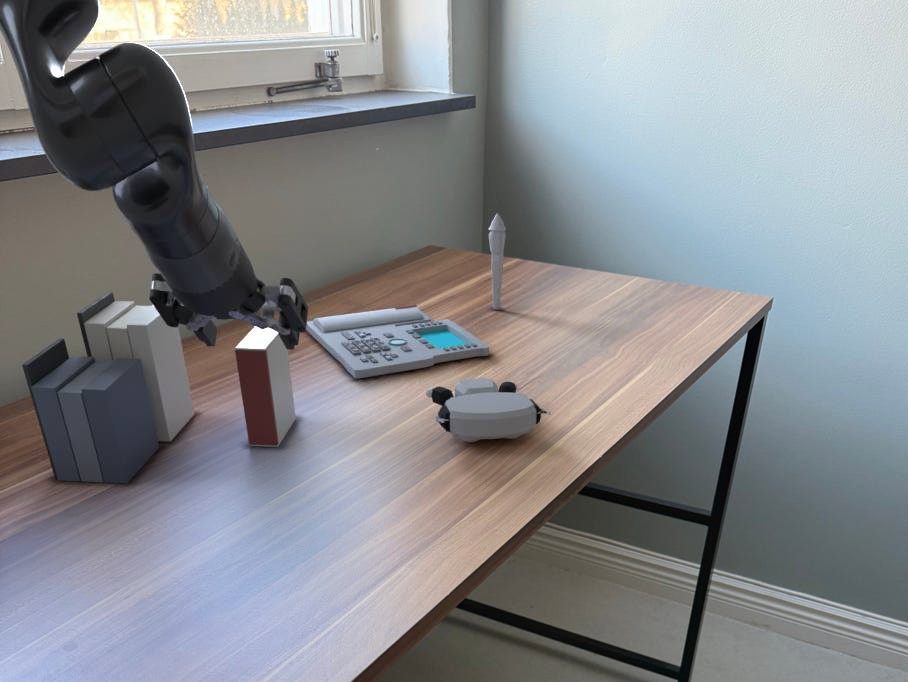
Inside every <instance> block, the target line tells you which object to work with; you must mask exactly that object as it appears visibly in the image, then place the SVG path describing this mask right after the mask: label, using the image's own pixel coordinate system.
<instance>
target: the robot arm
mask: <svg viewBox="0 0 908 682" xmlns="http://www.w3.org/2000/svg"><path fill="white" fill-rule="evenodd" d="M100 12H101V4H100V0H0V33H1V35H2V37H3V39H4V41H5V43H6V46H7V48H8V50H9V52H10V55H11V58H12V60H13V63H14V66H15V68H16V72H17V75H18V77H19V80H20V83H21V86H22V90H23V93H24V97H25V101H26V104H27V107H28V111H29V114H30V117H31V120H32V124H33V128H34V130H35V133H36V137H37V139H38V142H39V144H40V146H41V148H42V150H43V152H44V154H45V156H46V158H47V159H48V161H49V163H50V165H51V166H52V167H53V168H54V169H55V170H56V171H57V173H58V174H59V176H61V177H62V178H63V179H65V180H66V181H67V182H68V183H70V184H72V185H73V186H75V187H76V188H78V189H81V190H83V191H86V192H91V193H99V192H100V193H101V192H103V191H105V190H108V189H110V188H111V194H112V200H113V202H114V204H115V206H116V208H117V210H118V212H119V213H120V215H121V216H122V218H123V219H124V221H125V222H126V224H127V225H128V226H129V227H130V229H131V230H132V232H133V233H134V234H135V236H136V237H137V238H138V240H139V241H140V243H141V245H142V246H143V248H144V251H145V252H146V255H147V256H148V258H149V260H150V262H151V263H152V264H153V266H154V267H155V269H156V270H157V271H158V272H155V273H152V276H151V282H150V288H149V289H150V290H149V297H148V299H149V301H150V303H151V304H152V305H154V307H155V308H156V310H157V311H158V313H159V314H160V316H161V317H162V319H163V320H164V321H165V323H166V324H167V325H168V326H170V327H178V328H179V326H180V325H183V326H185V329H186V330H188V331H191V332H193V333H194V335H195V336H196V337H197V339H198V340H199V341H200V342H204V344H205V345H206V347H213V348H214V347H216V344H217V343H216V342H217V334H218V330H217V326H216V324H214V321H213V319H214V318H215V319H216V320H224V321H225V320H237V321H245V322H246V323H248V324H250V325H253V326H254V327H255V326H256V327H258V328H260V329H266V328H270V329H272V330H274V331H276V332H278V335H279V336H280V338H281V340H282V342H283V343H284V345H285V347H286V349H288V351H294V350H295V348H296V347H295V346H299V341H300V333H305V332H307V330H306V325H307V322H308V315H309V306H308V304H307V303H306V301H305V299H304V297H303V296H302V294H301V292H300V291H299V288H298V287H297V285H296V284H295V282H294V280H293V279H291V278H289V277H282V278H280V281H279V285H266V284H265V283H264V282H263V281H262V280H261V279H259V278H258V277H257V276H256V274H255V271H254V268H253V264H252V262H251V260H250V257H249V256H248V254H247V252H246V251H245V249H244V246H243V245H242V243H241V241H240V239H239V237H238V236H237V234H236V232H235V229H234V228H233V226H232V224H231V222H230V220H229V218H228V217H227V215H226V214H225V212H224V211H223V209H222V208H221V207H220V206H219V205H218V204H217V203H216V201H215V198H214V197H213V195H212V194H211V191H210V189H209V188H208V186H207V184H206V183H205V180H204V179H203V177H202V175H201V173H200V169H199V166H198V162H197V156H196V148H195V147H196V146H195V137H194V129H193V122H192V117H191V113H190V107H189V103H188V100H187V97H186V93H185V91H184V89H183V86H182V84H181V82H180V80H179V78H178V76H177V75H176V72H175V71H174V70H173V68H172V67H171V66H170V64H169V62H167V60H166V59H165V58H164V57H162V55H160V54H159V53H158V52H157V51H155V50H154V49H152V48H150V47H148V46H147V45H144V44H143V43H139V42H133V41H130V42H129V41H127V42H123V43H120V44H116V45H115V46H113V47H111V48H109V49H107V50H105V51H103V52H101V53H99V55H98V56H94V57H93V58H91V59H89V60H87V61H86V62H84V63H82V64H80V65H79V66H77V67H75V68H73V69H71V70H70V71H68V72H66V73H65V65H66V63H67V61H68V59H69V57H70V56H71V55H72V53H73V52H74V51H75V50H76V49H77V48H78V47H79V46H80V45H81V44H82V43H83V41H85V40H86V39H87V37H88V36H89V35H90V34H91V33H92V31H93V30H94V28H95V27H96V25H97V23H98V21H99V18H100ZM259 311H260V315H259V314H257V313H258V312H259ZM275 313H276V314H278V316H279V317H278V318H279V319H278V320H277V319H276V318H275Z"/></svg>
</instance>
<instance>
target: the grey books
mask: <svg viewBox="0 0 908 682" xmlns="http://www.w3.org/2000/svg"><path fill="white" fill-rule="evenodd" d="M21 366H22V370H23V373H24V377H25V381H26V383H27V387H28V390H29V393H30V398H31V401H32V404H33V407H34V411H35V414H36V418H37V421H38V424H39V429H40V432H41V435H42V438H43V442H44V445H45V448H46V452H47V456H48V458H49V463H50V466H51V470H52V472H53V473H52V474H53V476H54V478H55V479H57V480H58V481H64V482H65V481H66V482H85V483H106V484H107V483H108V484H109V483H110V484H128V483H129V482H130V481H131V480H132V479H133V477H135V475H136V474H137V473H138V472H139V471H140V470H141V468H142V467H143V466H144V465H145V464H146V463H147V462H148V461H149V460H150V458H151V457H152V456H153V455H154V454H155V453H156V452H157V450H159V449H160V445H159V441H158V439H157V434H156V430H155V425H154V420H153V416H152V411H151V406H150V402H149V397H148V392H147V388H146V383H145V378H144V374H143V369H142V364H141V360H140V359H133V358H118V359H117V360H116V361H95V358H94V357H87V355H86V356H85V355H83V356H82V355H81V356H80V355H72V356H71V357H70V355H69V351H68V348H67V344H66V340H65V338H63V337H62V338H61V337H60V338H58V339H56V340H55V341H54V342H53V343H51V344H49V345H48V346H47V347H45V348H43V349H42V350H41V351H40V352H38V353H37V354H35V355H34V356H32V357H31V358H30V359H28V360H27V361H25V362H24V363H23V364H22V365H21Z"/></svg>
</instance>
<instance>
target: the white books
mask: <svg viewBox="0 0 908 682" xmlns="http://www.w3.org/2000/svg"><path fill="white" fill-rule="evenodd" d="M76 316H77V320H78V324H79V328H80V331H81V332H80V333H81V336H82V340H83V345H84V348H85V352H86V357H94V358H95V361H116V360H117V359H118V358H133V359H140V360H141V364H142V369H143V374H144V378H145V383H146V388H147V392H148V397H149V402H150V406H151V411H152V416H153V420H154V425H155V430H156V434H157V439H158V442H164V443H165V442H166V443H167V442H168V443H170V442H172V441H173V439H174V438H175V437H177V435H178V434H180V432H181V431H182V429H183V428H184V427H185V426H186V425H187V424H188V423H189V421H190V420H191V419H192V418H193V417H194V416H195V410H194V404H193V399H192V394H191V388H190V383H189V377H188V372H187V366H186V361H185V354H184V350H183V344H182V340H181V334H180V330H179V329H180V328H179V326H178V327H170V326H168V325H167V324H166V323H165V321H164V320H163V319H162V317H161V316H160V314H159V313H158V311H157V310H156V308H155V307H154V305H153V304H152V305H135V301H126V300H125V301H123V300H115V296H114V291H108V292H106V293H105V294H103V295H101V296H99V298H97V299H95V300H94V301H92V302H91V303H90V304H88V305H86V306H85V307H84V308H82V309H80V310H79V311H77V312H76Z"/></svg>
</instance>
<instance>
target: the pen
mask: <svg viewBox="0 0 908 682" xmlns="http://www.w3.org/2000/svg"><path fill="white" fill-rule="evenodd" d="M487 230H488V231H489V233H488V242H489V243H488V244H489V250H490V253H491V254H490V257H491V262H490V263H491V265H490V267H491V268H490V269H491V289H492V290H491V291H492V293H491V294H492V307H493V308H492V309H493V310H498V311H499V310H500V307H501V297H502V285H503V275H504V251H505V244H506V230H507V227H506V225H505V222H504V221H503V218H502V217H501V216H500V214H499V213H498V212H497V213H496V214H495V216H494V217H493V219H492V221H491V223H490V225H489V227H488V229H487Z"/></svg>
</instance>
